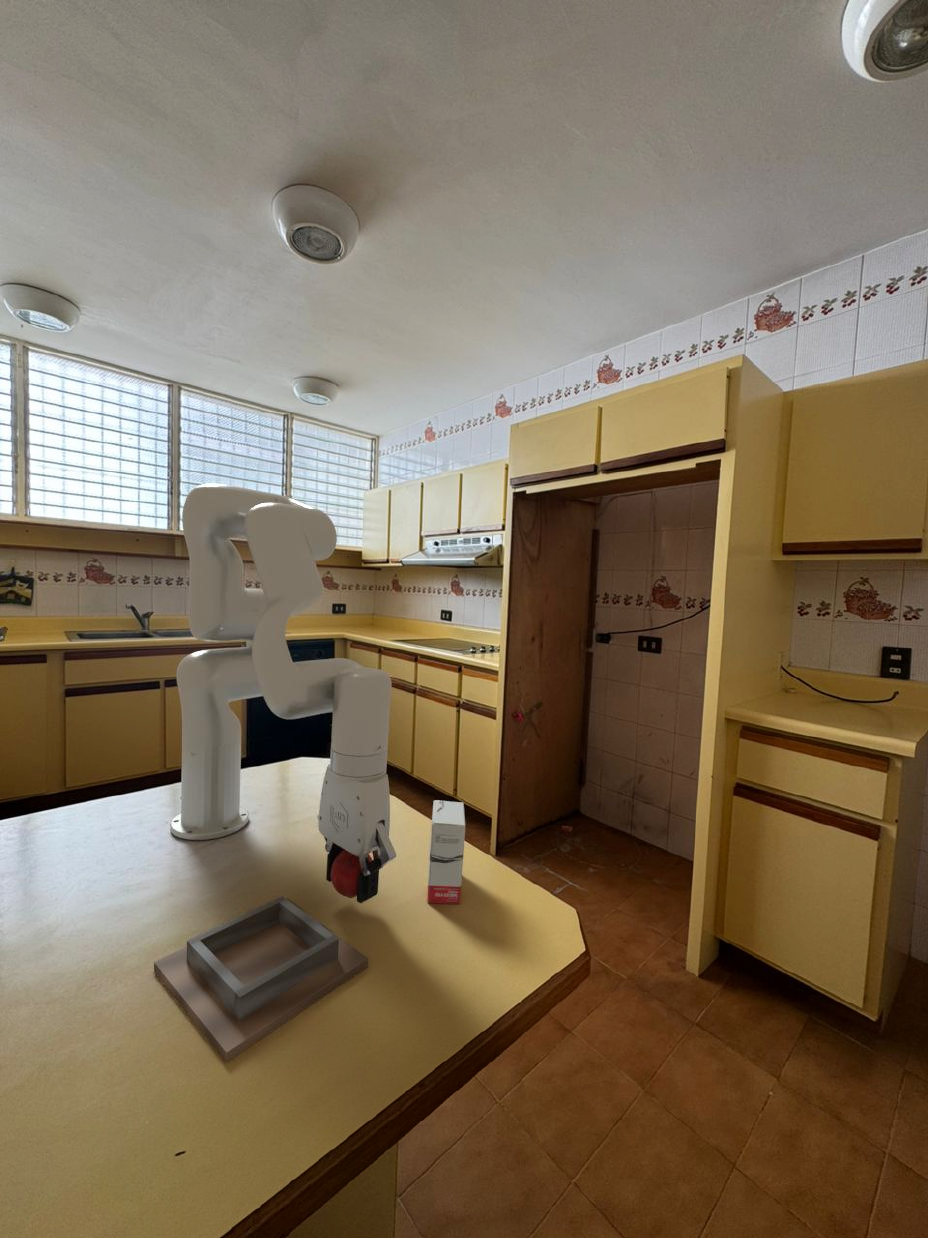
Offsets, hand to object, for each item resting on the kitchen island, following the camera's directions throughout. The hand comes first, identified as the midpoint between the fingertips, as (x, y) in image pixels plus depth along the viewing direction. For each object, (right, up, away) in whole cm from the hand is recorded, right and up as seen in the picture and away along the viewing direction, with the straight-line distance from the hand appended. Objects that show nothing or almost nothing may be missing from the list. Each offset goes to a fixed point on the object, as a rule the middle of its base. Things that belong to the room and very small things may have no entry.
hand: (351, 886), depth 73 cm
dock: (-8, -4, -12) cm, 14 cm away
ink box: (+12, -4, +7) cm, 15 cm away
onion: (0, -2, 0) cm, 2 cm away
